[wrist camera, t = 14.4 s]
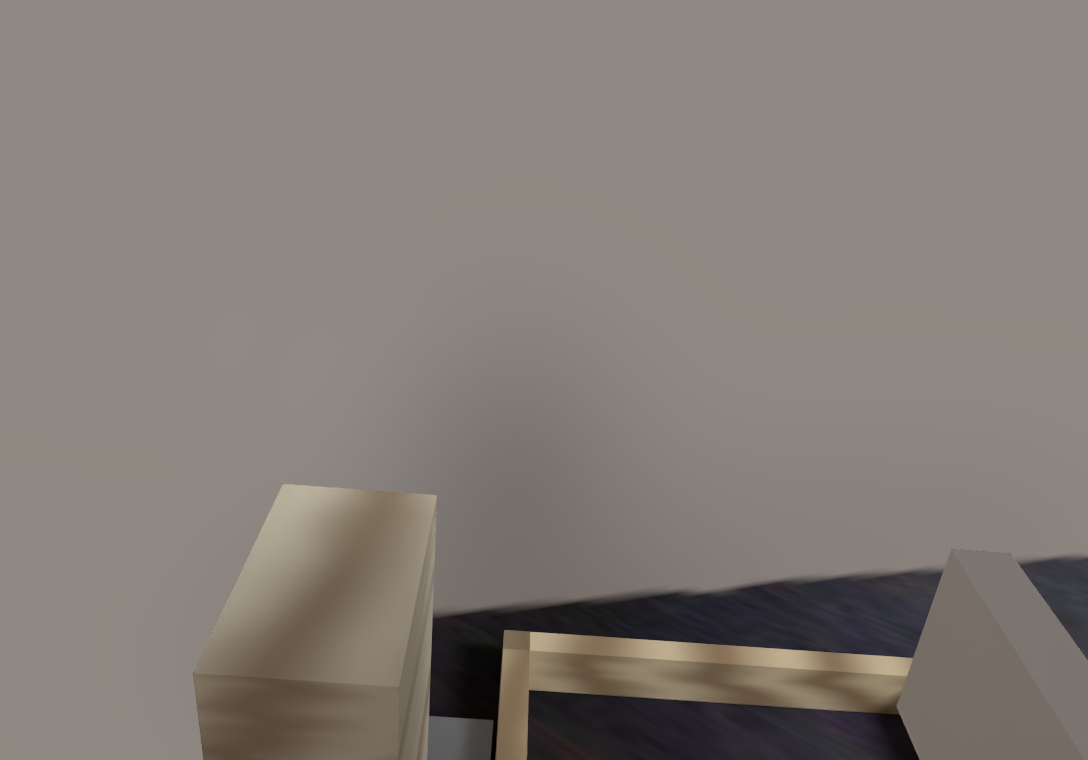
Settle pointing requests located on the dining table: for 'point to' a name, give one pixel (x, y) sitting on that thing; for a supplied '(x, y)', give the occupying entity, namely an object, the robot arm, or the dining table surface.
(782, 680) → the wooden frame
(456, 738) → the slate board
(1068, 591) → the dining table surface
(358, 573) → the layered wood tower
